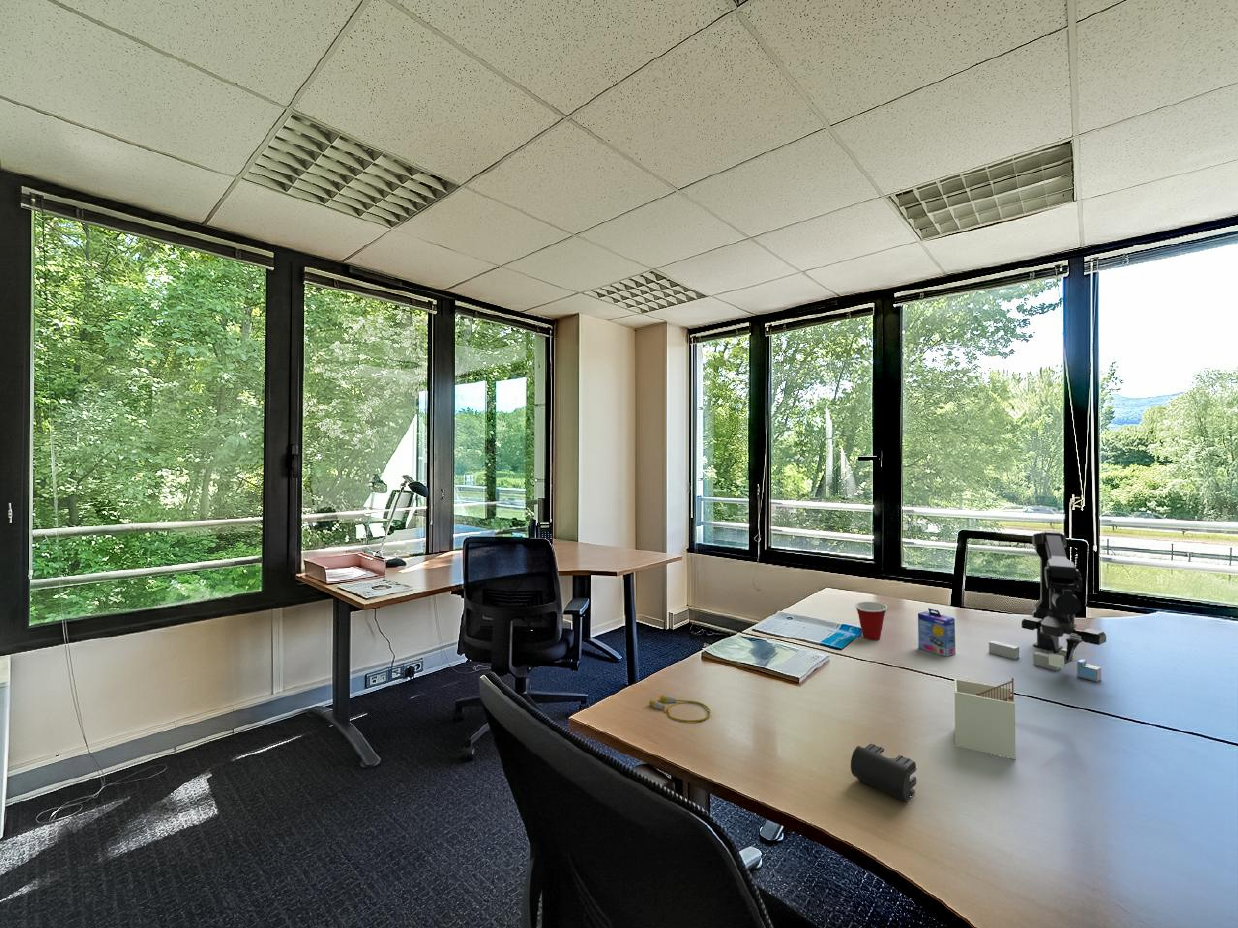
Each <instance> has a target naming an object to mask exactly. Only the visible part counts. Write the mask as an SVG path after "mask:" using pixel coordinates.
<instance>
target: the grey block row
mask: <svg viewBox="0 0 1238 928" xmlns="http://www.w3.org/2000/svg"><path fill="white" fill-rule="evenodd" d="M988 653H989V654H994V655H998V656H1001V657H1005V658H1009V659H1012V660H1017V659H1019V658H1020V646H1019V645H1018V646H1016V645H1015V644H1014V645H1013V644H1010V643H1006V642H1002V641H997V640H990V641H988ZM1049 654H1050V653H1045V652H1042V651H1041V652H1040V651H1035V652H1033V653H1032V657H1033V658H1032V659H1033V661H1032V662H1033V663H1032V665H1035V666H1038V667H1041V668H1046V669H1049V670H1053V671H1059V670H1061V669H1062V668H1059V667H1056V666H1052V665H1049ZM1076 664H1077V665H1076V667H1077V669H1076V670H1077V671H1076V672H1077V675H1076V676H1077V677H1079V678H1082V679H1086V680H1090V681H1093V682H1096V683H1097V682H1099V681H1101V680H1102V667H1100V666H1096V665H1093V664H1090V663H1087V660H1086V659H1082V658H1081V659H1079V660H1076Z"/></svg>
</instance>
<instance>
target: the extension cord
mask: <svg viewBox="0 0 1238 928" xmlns="http://www.w3.org/2000/svg"><path fill="white" fill-rule="evenodd" d="M674 702H676V703H675V704H674ZM677 702H678V703H677ZM686 702H690V703H689V704H695V703H697V704H696V705H699V704H700V706H701V705H702V706H701V707H703V708H704V709H705V708H707V710H709V712H708V714H707V716H706V717H704V718H700V719H680V718H677V717H673V716H672V715H671V714H670V711H669V709H670V708H672V707H674V706H677V704H678V705H681V703H682V704H687V703H686ZM665 704H672V705H670V706H668V707H667V708H666V706H665ZM648 705H649V707H650V708H654V709H656V710H662V711H664V714H665V713H666V714H667V716H668V717H670V719H672V720H674V719H675V720H674V721H677V720H679V721H678V722H681V721H685V722H684V723H687V722H697V723H701V722H700V721H702V722H704V720H705V721H707V720H709V719H710V718H711V716H710V714H711V709H710V707H708V705H706V704H704V703H702V702H700V701H695V700H688V699H687V700H685V699H677V698H676V697H672V696H669V695H667V696H666V695H661V696H659V701H656V700H655V701H654V700H652V699H651V700H649V702H648ZM707 710H706V711H707ZM666 714H665V715H666ZM709 717H710V718H709ZM708 718H709V719H708ZM706 719H707V720H706Z"/></svg>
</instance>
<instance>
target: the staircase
mask: <svg viewBox="0 0 1238 928" xmlns="http://www.w3.org/2000/svg"><path fill="white" fill-rule="evenodd" d="M1014 683H1015V682H1014V677H1011V680H1009V681H1006V682H1005V683H1002V684H1000V685H992V684H985V683H981V682H974V681H971V680H964V679H959V678H954V684H953V685H954V686H953V687H954V735H955V736H954V737H955V738H954V739H955V743H954V744H955V747H958V748H963V749H967V750H970V751H976V752H979V751H980V753H983V752H985V753H984V754H988V753H990V754H989V755H992V754H994V755H993V756H996V755H1001V756H1004V757H1003V758H1005V757H1009V758H1013V759H1016V703H1015V701H1014V700H1015V698H1014V694H1015V693H1014V691H1015V690H1014V689H1015V688H1014V685H1015V684H1014ZM1010 684H1011V686H1010ZM1007 685H1008V686H1007ZM1010 687H1011V688H1010ZM1001 756H1000V757H1001ZM1009 758H1008V759H1009ZM1013 759H1012V760H1013Z"/></svg>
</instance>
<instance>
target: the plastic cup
mask: <svg viewBox="0 0 1238 928" xmlns="http://www.w3.org/2000/svg"><path fill="white" fill-rule="evenodd" d="M854 607H855V609H856V611H857V615H858V620H859V625H860V629H861V634H862V638H864V639H866V640H871V641H878V640H880V639H881V637H882V631H883V625H884V620H885V614H886V610H888V606H887V605H886V604H883V603H881V602H875V601H860V602H857V603H855V604H854Z"/></svg>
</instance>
